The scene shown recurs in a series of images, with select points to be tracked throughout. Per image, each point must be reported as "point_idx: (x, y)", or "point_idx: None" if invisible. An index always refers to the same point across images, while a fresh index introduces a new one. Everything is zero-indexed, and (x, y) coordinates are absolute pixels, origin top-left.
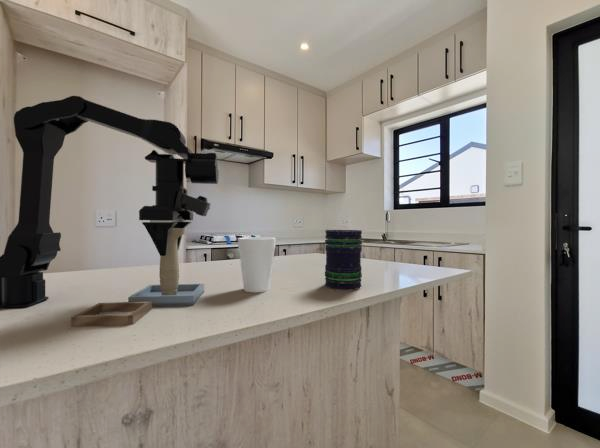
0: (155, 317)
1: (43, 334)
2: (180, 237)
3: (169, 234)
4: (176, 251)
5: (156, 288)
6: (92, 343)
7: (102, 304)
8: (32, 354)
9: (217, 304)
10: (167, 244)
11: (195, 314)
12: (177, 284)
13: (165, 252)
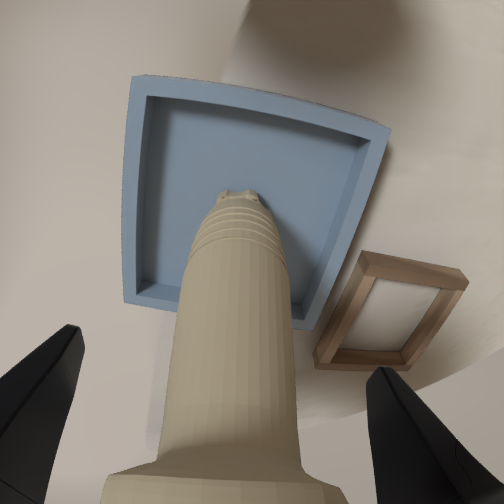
0: (441, 231)
1: (416, 371)
2: (20, 405)
3: (452, 477)
4: (261, 342)
5: (138, 273)
6: (498, 302)
7: (330, 360)
8: (482, 347)
9: (394, 37)
10: (425, 418)
11: (469, 130)
12: (253, 205)
13: (400, 380)
